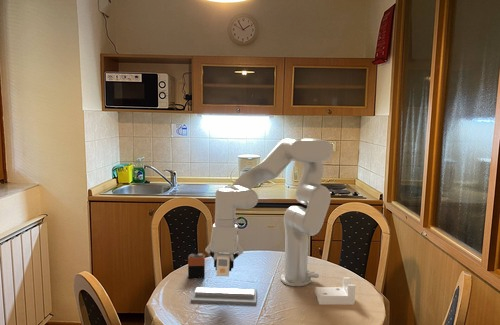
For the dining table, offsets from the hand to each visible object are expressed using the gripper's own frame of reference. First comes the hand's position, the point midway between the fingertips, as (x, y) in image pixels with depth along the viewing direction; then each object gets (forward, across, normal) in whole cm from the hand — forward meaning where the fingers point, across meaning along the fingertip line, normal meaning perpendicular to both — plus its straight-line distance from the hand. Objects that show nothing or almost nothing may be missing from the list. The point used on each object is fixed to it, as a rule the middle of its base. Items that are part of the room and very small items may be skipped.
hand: (223, 268), depth 140 cm
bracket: (+11, -42, -2) cm, 44 cm away
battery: (+12, +13, -17) cm, 25 cm away
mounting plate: (+11, -1, 0) cm, 11 cm away
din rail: (+11, -1, 0) cm, 11 cm away
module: (+1, 0, 0) cm, 1 cm away
